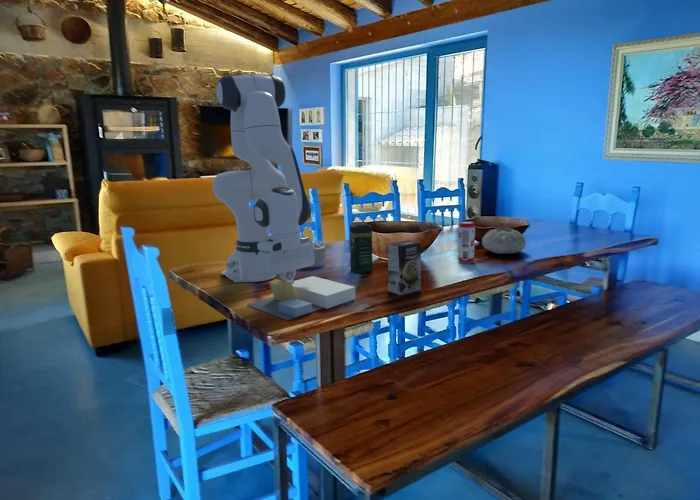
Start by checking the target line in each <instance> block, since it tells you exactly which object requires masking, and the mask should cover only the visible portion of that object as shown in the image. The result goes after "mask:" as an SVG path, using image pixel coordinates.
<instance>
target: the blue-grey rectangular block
mask: <svg viewBox="0 0 700 500" xmlns="http://www.w3.org/2000/svg"><path fill="white" fill-rule="evenodd" d="M312 305H313V304H312V303H309V302H306V301H302V300H299V299H296V298H292V299H289V300H285V301H282V302H279V303H278V309H279V311H280V312H283V313H286V314H289V315H292V316H295V317H296V318H298V317H297V316H299V317H301V316H300V315H302V316H304V315H303V314H305V315H307V314H306V313H308V314H310V313H309V312H311V313H313V312H312Z"/></svg>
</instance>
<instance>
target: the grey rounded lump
mask: <svg viewBox="0 0 700 500" xmlns="http://www.w3.org/2000/svg"><path fill="white" fill-rule="evenodd" d="M481 239H482V240H481V244H482V246H483V248H485V249H486V250H488V251H490V252H491V253H493V254H500V255H503V254H504V255H505V254H506V255H510V254H511V255H513V254H517V253H520V252H521V251H524V249H525V247H526V245H527V244H526V243H527V242H526V239H525V236H524V235H523V234H522V233H521V232H519V231H518V230H516V229H514V228H508V227H507V228H506V227H505V228H493V229H489V231H487V232H486V233H485V234H484V236H482V238H481Z"/></svg>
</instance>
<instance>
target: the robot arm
mask: <svg viewBox="0 0 700 500" xmlns="http://www.w3.org/2000/svg"><path fill="white" fill-rule="evenodd" d="M215 91H216V92H215V93H216V97H217V100H218V103H219V106H221V107H222V108H224V109H226V110H229V111H230V137H231V150H232V153H233V154H234V156H235V157H236V158H237V159H240V160H241V161H244V162H245V163H248V164H250V166H251V169H249V170H248V169H247V170H246V169H245V170H230V171H224V172H221V173H218V174H217V175H216V176H215V177H214V179H213V183H212V191H213V194H214V196H215V197H216V199H218V200H219V201H220V202H221V203H222V204H224V205H225V206H227V207H228V209H230V211H231V213H232V214H233V217H234V219H235V222H236V227H237V237H238V239H237V240H235V241H234V242H235V243H234V244H235V245H236V247H235V249H236V250H234V252H233V253H232V254H231V255H230V256H229V257H228V258H227V260H226V269H225V270H223V271H220V274H221V273H222V274H223V275H225V276H226V277H228V278H230V279H231V280H233V281H235V282H234V283H256V282H258V283H259V282H264V281H269V280H272V279H274V278H276V277H277V275H279V277H280V280H281V281H285V282H288V283H292V284H293V283H294V281H295V280H294V279H295V276H296V274H297V270H298V269H299V270H300V269H303V268H309V267H308V266H312V265H314V263H315V256H314V250H313V245H312V241H313V239H311V238H310V237H309V236H306V237H301V229H300V226H303V225H304V224H305V223H306V222H308V220H309V218H310V216H311V214H312V209H311V208H312V207H311V203H310V200H309V198H308V196H307V193H306V191H305V187H304V182H303V179H302V174H301V172H300V171H301V170H300V167H299V164H298V159H297V157H296V154H295V150H294V149H293V146H292V145H290V144H289V143H287V141H286V139H285V138H284V135H283V132H282V129H281V128H282V125H281V120H280V114H279V109H278V108H280V107H282V105H283V104H285V100H286V87H285V82H284V81H283V79H282V77H279V76H277V75H271V74H269V75H267V74H265V75H264V74H256V73H255V74H253V73H252V74H251V73H250V74H239V75H231V74H229V75H225V76H222V77H220V78H219V80H218V81H217V85H216V90H215ZM273 163H275V164H276V165H277V166H279V167H280V169H282V171H283V173H282V172H281V171H280V170H279V169H278V168H276V166H275V165H273ZM251 202H255V204H254V205H253V208H252V206H250V204H251ZM270 228H271V230H270ZM288 273H289V274H288ZM223 275H222V276H223ZM287 276H288V277H287ZM226 277H225V278H226ZM228 278H227V279H228ZM230 279H229V280H230ZM231 280H230V281H231ZM233 281H232V282H233Z"/></svg>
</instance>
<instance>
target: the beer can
mask: <svg viewBox="0 0 700 500" xmlns="http://www.w3.org/2000/svg"><path fill="white" fill-rule="evenodd" d="M457 238H458V240H457V241H458V245H457V251H458V252H457V259H458V262H459V263H460V262H461V264H472V263H473V262H474V261H475V245H476V244H475V243H476V242H475V241H476V226H475V224H474V221H469V220H467V221H466V220H465V221H464V220H463V221H460V223H459V225H458V237H457Z"/></svg>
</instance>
